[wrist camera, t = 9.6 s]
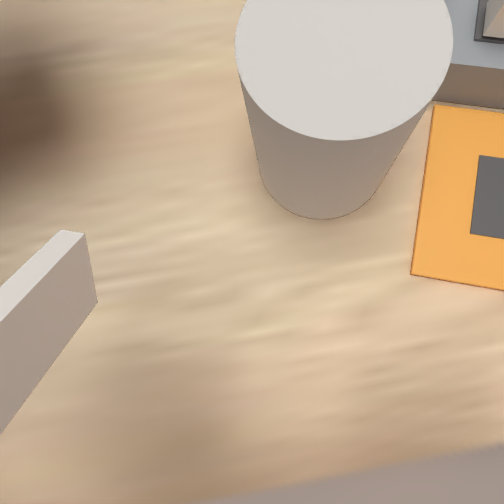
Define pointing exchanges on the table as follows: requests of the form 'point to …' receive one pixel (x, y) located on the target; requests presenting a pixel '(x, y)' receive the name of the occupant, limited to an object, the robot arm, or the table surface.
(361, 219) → the table surface
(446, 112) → the pad
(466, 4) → the grey switch box
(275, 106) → the white closed cylinder
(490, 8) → the toggle
